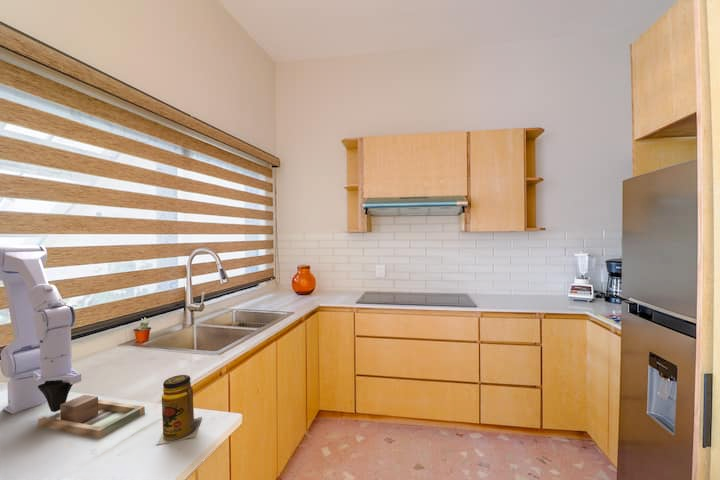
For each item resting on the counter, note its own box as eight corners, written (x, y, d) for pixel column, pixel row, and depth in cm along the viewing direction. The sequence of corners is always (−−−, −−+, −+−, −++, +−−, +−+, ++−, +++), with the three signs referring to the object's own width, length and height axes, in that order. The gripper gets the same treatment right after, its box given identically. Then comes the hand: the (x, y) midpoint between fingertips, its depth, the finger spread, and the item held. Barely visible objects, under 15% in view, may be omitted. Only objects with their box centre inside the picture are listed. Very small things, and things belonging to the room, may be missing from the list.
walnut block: (60, 421, 76) (60, 404, 76) (84, 410, 81) (83, 394, 81) (75, 424, 74) (74, 406, 74) (98, 412, 79) (97, 396, 79)
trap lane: (38, 430, 74) (37, 419, 74) (87, 408, 84) (87, 398, 84) (99, 442, 68) (98, 430, 68) (144, 416, 78) (144, 406, 78)
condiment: (156, 445, 66) (154, 387, 67) (167, 424, 75) (165, 372, 75) (195, 438, 69) (193, 381, 69) (202, 418, 77) (200, 367, 77)
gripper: (16, 359, 78) (18, 414, 78) (56, 362, 74) (58, 421, 74) (51, 349, 85) (53, 400, 85) (90, 352, 81) (91, 406, 81)
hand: (57, 409), depth 80 cm, fingers closed
